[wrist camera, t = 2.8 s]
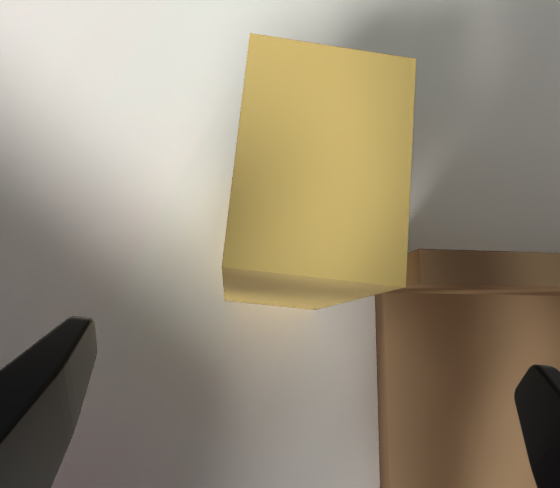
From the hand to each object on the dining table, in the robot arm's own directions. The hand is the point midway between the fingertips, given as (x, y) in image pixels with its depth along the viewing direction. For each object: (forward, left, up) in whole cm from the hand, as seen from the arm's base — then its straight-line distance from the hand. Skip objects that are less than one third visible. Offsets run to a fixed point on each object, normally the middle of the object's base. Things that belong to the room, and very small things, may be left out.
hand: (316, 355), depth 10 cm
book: (0, +4, -11) cm, 12 cm away
